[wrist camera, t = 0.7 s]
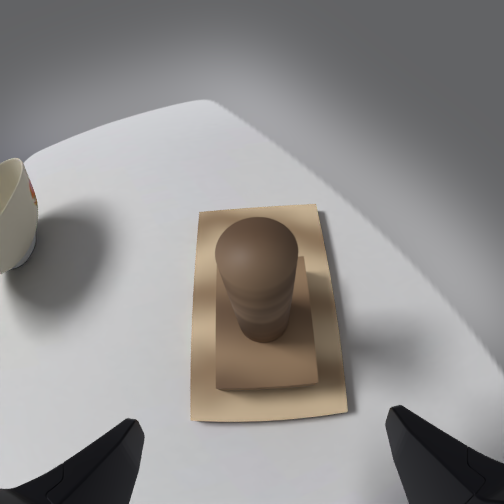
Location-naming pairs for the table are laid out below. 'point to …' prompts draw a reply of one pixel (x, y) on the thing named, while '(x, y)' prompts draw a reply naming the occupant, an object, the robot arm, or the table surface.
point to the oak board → (323, 318)
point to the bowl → (16, 215)
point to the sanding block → (262, 309)
